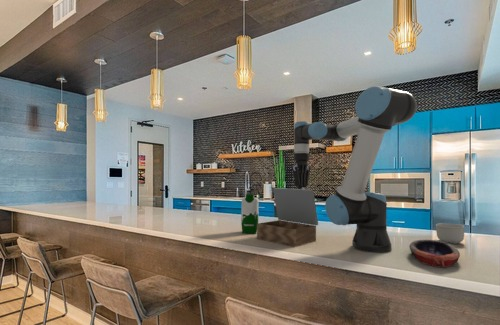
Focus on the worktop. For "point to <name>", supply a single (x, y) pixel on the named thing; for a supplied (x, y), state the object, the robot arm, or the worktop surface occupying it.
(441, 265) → the dish
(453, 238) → the teacup
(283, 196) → the lid
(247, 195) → the milk carton
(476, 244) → the worktop surface
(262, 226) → the walnut box
